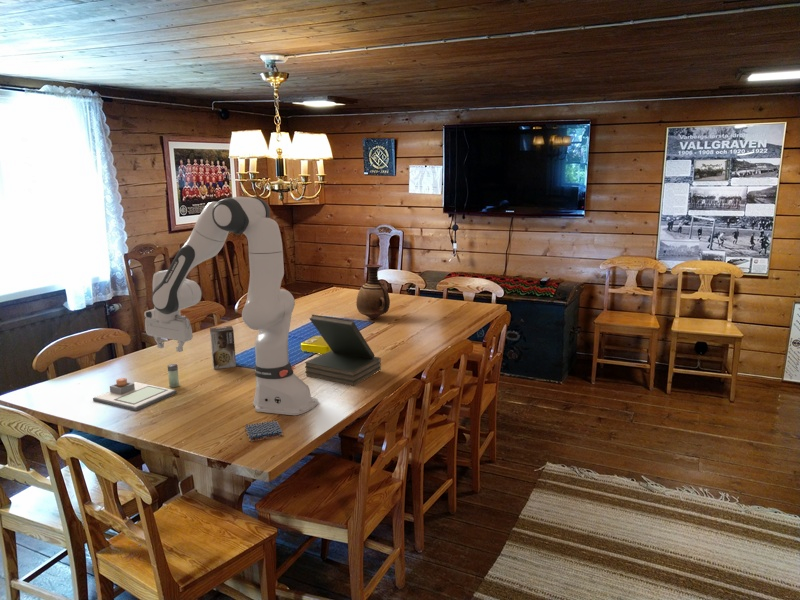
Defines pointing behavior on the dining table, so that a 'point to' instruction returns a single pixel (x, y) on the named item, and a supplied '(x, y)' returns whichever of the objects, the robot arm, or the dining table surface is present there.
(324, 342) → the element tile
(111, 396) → the cream board with holder
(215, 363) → the coffee box
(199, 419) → the dining table surface
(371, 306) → the vase
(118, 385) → the button
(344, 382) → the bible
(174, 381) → the marker
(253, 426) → the woven mat
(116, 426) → the dining table surface
